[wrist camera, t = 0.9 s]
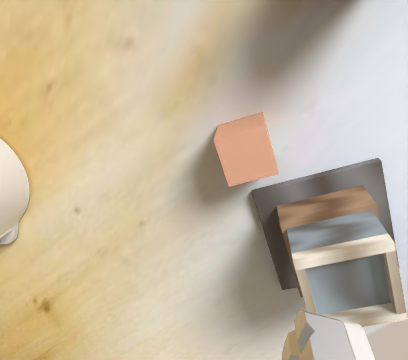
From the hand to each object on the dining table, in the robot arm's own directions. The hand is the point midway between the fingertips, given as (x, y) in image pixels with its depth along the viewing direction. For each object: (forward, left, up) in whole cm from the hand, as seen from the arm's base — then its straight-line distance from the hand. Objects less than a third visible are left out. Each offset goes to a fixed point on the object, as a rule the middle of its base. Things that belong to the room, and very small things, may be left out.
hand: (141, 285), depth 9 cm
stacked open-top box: (+7, -19, -31) cm, 37 cm away
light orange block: (+1, -6, -31) cm, 32 cm away
